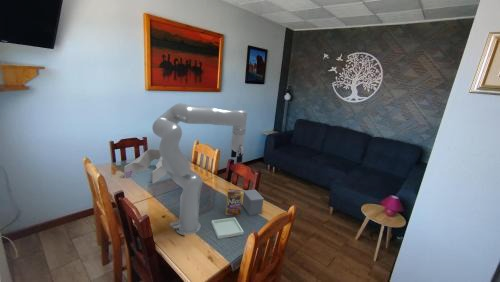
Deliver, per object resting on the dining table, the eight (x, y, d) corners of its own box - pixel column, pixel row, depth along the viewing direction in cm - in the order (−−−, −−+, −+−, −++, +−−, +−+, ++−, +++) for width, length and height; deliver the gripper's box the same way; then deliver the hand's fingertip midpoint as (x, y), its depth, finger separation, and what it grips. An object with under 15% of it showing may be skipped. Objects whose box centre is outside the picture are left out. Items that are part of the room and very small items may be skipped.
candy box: (225, 215, 135) (227, 191, 132) (226, 211, 139) (228, 188, 136) (240, 216, 135) (242, 193, 132) (240, 213, 139) (243, 189, 136)
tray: (218, 239, 113) (218, 236, 113) (211, 223, 126) (211, 220, 125) (243, 235, 119) (243, 231, 118) (234, 220, 131) (234, 217, 131)
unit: (249, 216, 137) (251, 200, 134) (241, 205, 148) (243, 190, 146) (262, 214, 140) (264, 198, 138) (253, 204, 151) (255, 189, 149)
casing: (153, 185, 163) (153, 158, 159) (124, 180, 167) (123, 153, 162) (172, 172, 190) (173, 149, 185) (147, 167, 193) (147, 145, 189)
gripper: (228, 128, 138) (225, 155, 142) (238, 134, 122) (235, 165, 126) (239, 128, 141) (237, 155, 145) (250, 135, 125) (247, 164, 129)
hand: (236, 159), depth 135 cm, fingers open, 9 cm apart
